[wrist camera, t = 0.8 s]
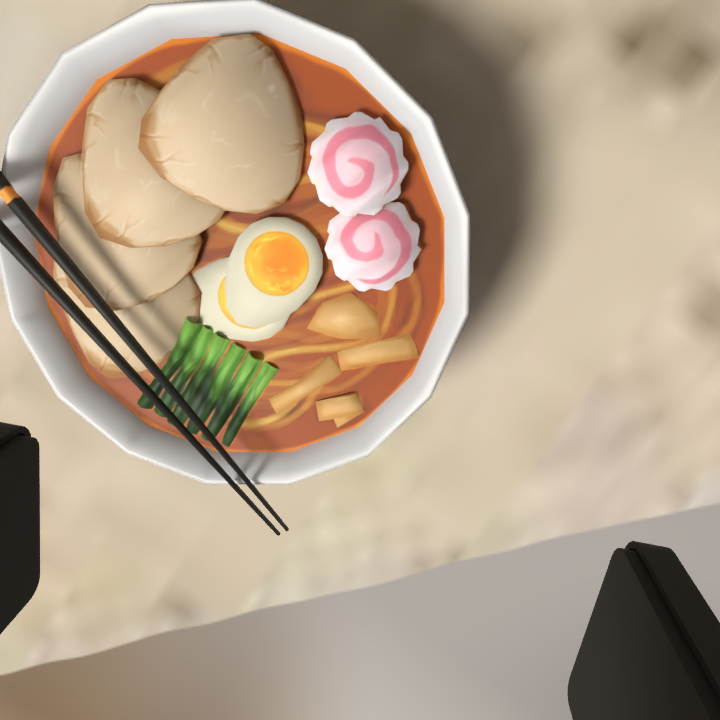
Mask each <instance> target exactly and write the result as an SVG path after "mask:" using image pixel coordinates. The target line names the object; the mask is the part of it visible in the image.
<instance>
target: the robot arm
mask: <svg viewBox="0 0 720 720" xmlns="http://www.w3.org/2000/svg"><path fill="white" fill-rule="evenodd" d="M39 579H40V484H39V443H38V441H37V439H36V438H33V437H31V434H30V432H29V430H28V429H27V428H26V427H23V426H18V425H13V424H7V423H2V422H0V634H1V633H2V632H3V631H4V629H5V628H6V627H7V626H8V625H9V624H10V622H11V621H12V620H13V619H14V618H15V617H16V615H17V614H18V613H19V612H20V611H21V610H22V609H23V607H24V606H25V605H26V604H27V603H28V602H29V600H30V599H31V598H32V596H33V595H34V593H35V591H36V588H37V586H38V583H39ZM568 702H569V706H570V710H571V714H572V718H573V720H720V623H719V621H718V620H717V618H716V616H715V615H714V613H713V612H712V610H711V609H710V607H709V606H708V604H707V602H706V601H705V599H704V598H703V596H702V595H701V593H700V592H699V590H698V588H697V587H696V585H695V584H694V582H693V581H692V579H691V578H690V576H689V575H688V573H687V572H686V570H685V568H684V567H683V565H682V564H681V562H680V561H679V559H678V557H677V556H676V554H675V553H674V552H673V551H672V550H671V549H670V548H667V547H662V546H656V545H651V544H646V543H641V542H635V541H632V542H630V543H628V545H627V546H626V547H625V549H622V548H617V549H616V550H615V551H614V553H613V555H612V557H611V560H610V563H609V566H608V569H607V572H606V575H605V578H604V581H603V584H602V586H601V589H600V592H599V595H598V598H597V601H596V603H595V607H594V609H593V612H592V615H591V618H590V621H589V624H588V627H587V629H586V632H585V635H584V638H583V641H582V644H581V647H580V649H579V652H578V655H577V658H576V661H575V664H574V667H573V670H572V672H571V675H570V679H569V684H568Z"/></svg>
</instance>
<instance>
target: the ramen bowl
mask: <svg viewBox="0 0 720 720" xmlns="http://www.w3.org/2000/svg"><path fill="white" fill-rule="evenodd" d="M0 272H1V276H2V281H3V286H4V290H5V295H6V300H7V304H8V309H9V314H10V318H11V321H12V322H13V324H14V326H15V327H16V329H17V330H18V332H19V334H20V335H21V337H22V339H23V340H24V342H25V344H26V345H27V347H28V349H29V350H30V352H31V354H32V355H33V357H34V359H35V360H36V362H37V364H38V365H39V367H40V369H41V370H42V372H43V374H44V375H45V377H46V379H47V380H48V382H49V384H50V385H51V387H52V388H53V390H54V392H55V393H56V395H57V397H58V398H59V399H61V400H62V401H63V402H64V403H65V404H67V405H68V406H69V407H70V408H72V409H73V410H74V411H75V412H76V413H78V414H79V415H80V416H81V417H83V418H84V419H85V420H86V421H87V422H89V423H90V424H91V425H92V426H94V427H95V428H96V429H97V430H99V431H100V432H101V433H102V434H103V435H105V436H106V437H107V438H108V439H110V440H111V441H112V442H113V443H114V444H116V445H117V446H118V447H119V448H121V449H122V450H123V451H124V452H125V453H127V454H130V455H132V456H135V457H138V458H140V459H143V460H145V461H148V462H151V463H153V464H156V465H158V466H161V467H164V468H166V469H169V470H171V471H174V472H177V473H179V474H182V475H184V476H187V477H190V478H192V479H195V480H197V481H200V482H203V483H205V484H229V485H230V486H231V487H232V488H233V489H234V490H235V491H236V492H237V493H238V494H239V495H240V496H241V497H242V498H243V499H244V500H245V501H246V502H247V504H248V505H249V506H250V507H251V508H252V509H253V510H254V511H255V512H256V513H257V514H258V515H259V516H260V517H261V518H262V519H263V520H264V521H265V523H266V524H267V525H268V526H269V527H270V528H271V529H272V530H273V531H274V532H275V533H276V534H277V535H278V536H279V535H280V532H279V531H278V530H277V529H276V528H275V527H274V526H273V524H272V523H271V522H270V521H269V520H268V519H267V518H266V517H265V516H264V514H263V513H262V512H261V511H260V510H259V509H258V508H257V507H256V505H255V504H254V503H253V502H252V501H251V500H250V499H249V498H248V496H247V495H246V494H245V493H244V492H243V491H242V490H241V489H240V487H239V486H238V485H237V484H246V485H247V486H248V487H249V488H250V489H251V491H252V492H253V493H254V494H255V495H256V496H257V498H258V499H259V500H260V501H261V502H262V503H263V505H264V506H265V507H266V508H267V509H268V510H269V512H270V513H271V514H272V515H273V516H274V517H275V519H276V520H277V521H278V522H279V523H280V524H281V526H282V527H283V528H284V529H285V530H286V531H288V530H289V529H288V527H287V526H286V525H285V524H284V522H283V521H282V520H281V519H280V517H279V516H278V515H277V514H276V512H275V511H274V510H273V509H272V507H271V506H270V505H269V504H268V502H267V501H266V500H265V499H264V498H263V496H262V495H261V494H260V493H259V491H258V490H257V489H256V488H255V486H254V485H253V484H293V483H295V482H298V481H301V480H304V479H306V478H309V477H312V476H315V475H318V474H320V473H323V472H326V471H329V470H331V469H334V468H337V467H340V466H342V465H345V464H348V463H351V462H353V461H356V460H359V459H362V458H364V457H367V456H369V455H370V454H371V453H372V452H373V451H374V450H375V449H377V448H378V447H379V446H380V445H381V444H382V443H383V442H384V441H385V440H386V439H387V438H388V437H389V436H390V435H391V434H392V433H394V432H395V431H396V430H397V429H398V428H399V427H400V426H401V425H402V424H403V423H404V422H405V421H406V420H407V419H408V418H409V417H411V416H412V415H413V414H414V413H415V412H416V411H417V410H418V409H419V408H420V407H421V406H422V405H423V404H424V403H425V402H426V401H428V400H429V399H430V398H431V396H432V394H433V392H434V390H435V388H436V385H437V383H438V381H439V379H440V377H441V374H442V372H443V370H444V368H445V366H446V364H447V361H448V359H449V357H450V355H451V353H452V350H453V348H454V346H455V344H456V342H457V340H458V337H459V335H460V333H461V331H462V329H463V326H464V324H465V322H466V320H467V318H468V316H469V283H470V213H469V211H468V208H467V206H466V203H465V200H464V198H463V195H462V193H461V190H460V187H459V185H458V182H457V180H456V177H455V174H454V172H453V169H452V167H451V164H450V161H449V159H448V156H447V154H446V151H445V148H444V146H443V143H442V141H441V138H440V135H439V133H438V130H437V128H436V125H435V122H434V120H433V117H432V116H431V115H430V114H429V113H428V112H427V111H426V110H425V109H424V108H423V107H422V106H421V105H420V104H419V103H418V102H417V101H416V100H415V99H414V98H413V97H412V96H411V95H410V94H409V93H408V92H407V91H406V90H405V89H404V88H403V87H402V86H401V85H400V84H399V83H398V82H397V81H396V80H395V79H394V78H393V77H392V76H391V75H390V74H389V73H388V72H387V71H386V70H385V69H384V68H383V67H382V66H381V65H380V63H379V62H378V61H377V60H376V59H375V58H374V57H373V56H372V55H371V54H370V53H369V52H368V51H367V50H366V49H365V48H364V47H363V46H362V45H361V44H360V43H359V42H358V41H357V40H356V39H354V38H352V37H349V36H347V35H345V34H342V33H340V32H337V31H335V30H332V29H330V28H328V27H325V26H323V25H320V24H318V23H316V22H313V21H311V20H308V19H306V18H303V17H301V16H299V15H296V14H294V13H291V12H289V11H287V10H284V9H282V8H279V7H277V6H274V5H272V4H270V3H267V2H265V1H262V0H203V1H188V2H173V3H158V4H148V5H147V6H145V7H143V8H141V9H140V10H138V11H136V12H134V13H132V14H131V15H129V16H127V17H125V18H124V19H122V20H120V21H118V22H116V23H115V24H113V25H111V26H109V27H108V28H106V29H104V30H102V31H100V32H99V33H97V34H95V35H93V36H92V37H90V38H88V39H86V40H84V41H83V42H81V43H79V44H77V45H76V46H74V47H72V48H70V49H68V50H67V51H65V52H63V53H62V54H61V55H60V57H59V58H58V60H57V61H56V63H55V64H54V66H53V67H52V69H51V70H50V72H49V73H48V75H47V76H46V78H45V79H44V81H43V82H42V84H41V85H40V87H39V88H38V90H37V91H36V93H35V94H34V96H33V97H32V99H31V100H30V102H29V103H28V105H27V106H26V108H25V110H24V111H23V113H22V114H21V116H20V117H19V119H18V120H17V122H16V123H15V125H14V126H13V128H12V129H11V131H10V132H9V134H8V138H7V143H6V149H5V154H4V160H3V165H2V171H0Z"/></svg>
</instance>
